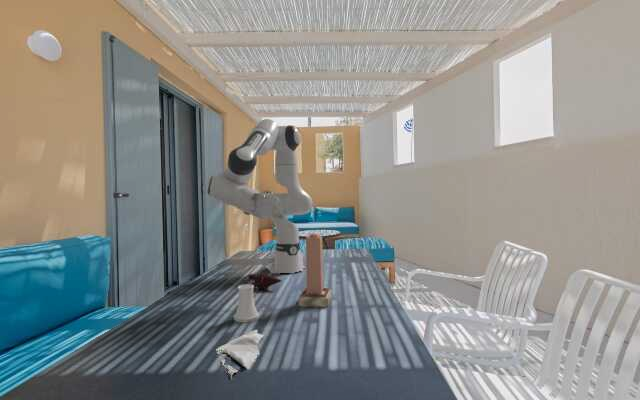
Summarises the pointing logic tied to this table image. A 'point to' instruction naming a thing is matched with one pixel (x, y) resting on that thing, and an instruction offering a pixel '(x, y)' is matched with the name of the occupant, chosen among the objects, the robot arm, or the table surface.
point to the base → (315, 298)
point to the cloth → (241, 350)
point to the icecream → (263, 280)
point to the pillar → (314, 264)
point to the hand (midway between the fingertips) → (284, 214)
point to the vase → (246, 305)
